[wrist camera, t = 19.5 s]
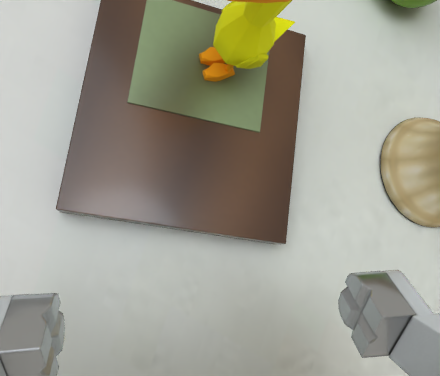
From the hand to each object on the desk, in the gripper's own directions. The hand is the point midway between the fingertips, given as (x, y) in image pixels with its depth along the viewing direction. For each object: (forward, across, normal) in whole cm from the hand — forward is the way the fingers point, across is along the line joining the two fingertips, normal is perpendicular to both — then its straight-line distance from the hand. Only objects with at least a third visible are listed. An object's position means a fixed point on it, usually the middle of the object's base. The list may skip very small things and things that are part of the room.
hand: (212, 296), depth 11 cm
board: (+15, -1, +1) cm, 15 cm away
